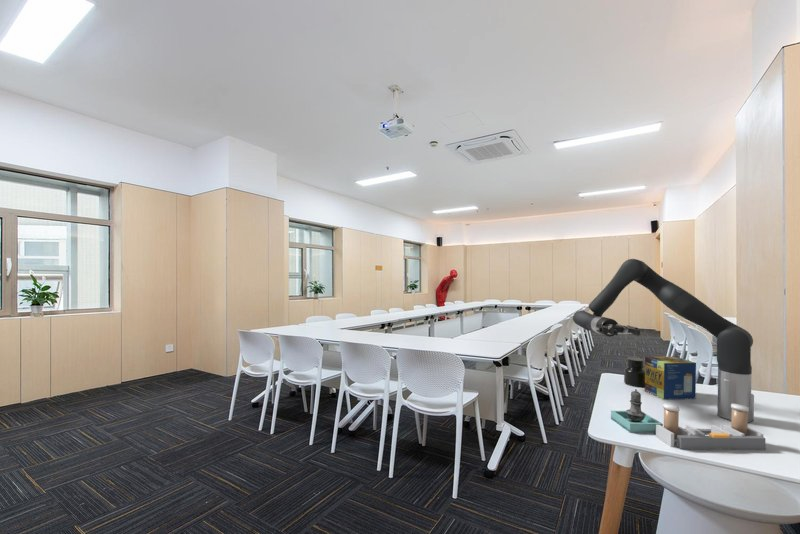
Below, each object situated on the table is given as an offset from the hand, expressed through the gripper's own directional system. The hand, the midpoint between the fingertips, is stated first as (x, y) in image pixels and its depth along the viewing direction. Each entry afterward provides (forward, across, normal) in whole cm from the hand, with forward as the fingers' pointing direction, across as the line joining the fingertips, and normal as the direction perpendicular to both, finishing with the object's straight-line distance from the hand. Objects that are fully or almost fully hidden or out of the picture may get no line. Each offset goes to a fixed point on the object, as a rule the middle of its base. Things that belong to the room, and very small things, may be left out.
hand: (627, 332), depth 142 cm
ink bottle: (-32, +24, +30) cm, 50 cm away
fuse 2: (+24, +21, +30) cm, 44 cm away
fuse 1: (+24, -1, +30) cm, 38 cm away
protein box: (-18, +30, +30) cm, 46 cm away
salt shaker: (+14, -6, +29) cm, 33 cm away
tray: (+14, -6, +30) cm, 33 cm away
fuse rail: (+24, +10, +30) cm, 40 cm away
